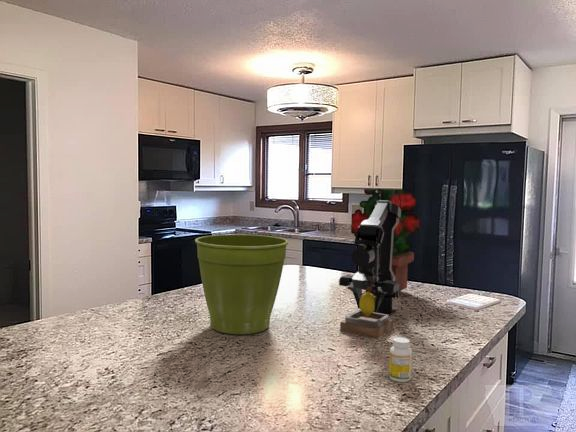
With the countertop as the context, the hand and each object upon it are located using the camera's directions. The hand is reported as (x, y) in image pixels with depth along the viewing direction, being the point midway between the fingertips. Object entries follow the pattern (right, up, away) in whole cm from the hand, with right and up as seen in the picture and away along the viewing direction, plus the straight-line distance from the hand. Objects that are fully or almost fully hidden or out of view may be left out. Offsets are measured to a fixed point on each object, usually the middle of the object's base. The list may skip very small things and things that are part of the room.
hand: (367, 309), depth 157 cm
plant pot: (-41, -6, +1) cm, 42 cm away
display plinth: (0, -7, 0) cm, 7 cm away
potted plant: (+16, -3, +54) cm, 56 cm away
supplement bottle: (+2, -10, -38) cm, 39 cm away
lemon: (0, -2, 0) cm, 2 cm away
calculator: (+49, -6, +40) cm, 64 cm away
